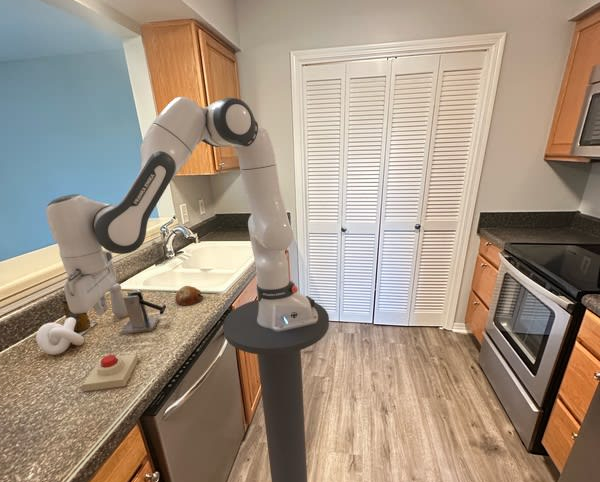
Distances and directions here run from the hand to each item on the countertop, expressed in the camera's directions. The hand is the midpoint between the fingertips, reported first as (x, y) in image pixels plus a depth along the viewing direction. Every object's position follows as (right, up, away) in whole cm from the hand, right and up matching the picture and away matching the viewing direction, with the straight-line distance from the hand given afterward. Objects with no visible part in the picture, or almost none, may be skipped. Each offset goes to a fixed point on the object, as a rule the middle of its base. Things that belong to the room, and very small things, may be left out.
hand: (102, 312), depth 85 cm
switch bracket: (-4, -7, +30) cm, 31 cm away
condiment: (-26, -9, +30) cm, 41 cm away
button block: (0, -18, +5) cm, 18 cm away
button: (0, -14, +4) cm, 15 cm away
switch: (-1, 0, +27) cm, 27 cm away
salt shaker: (-16, -4, +39) cm, 42 cm away
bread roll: (+7, +1, +49) cm, 49 cm away
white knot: (-23, -13, +19) cm, 32 cm away
